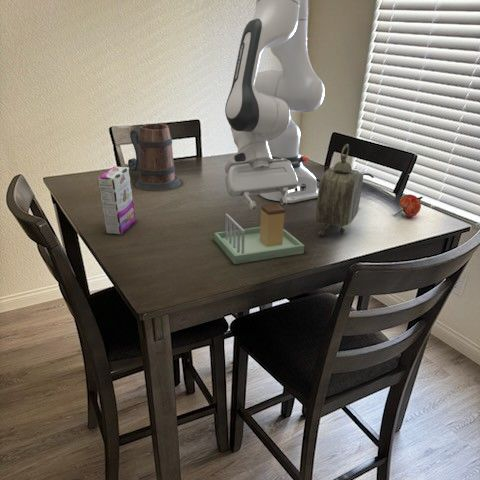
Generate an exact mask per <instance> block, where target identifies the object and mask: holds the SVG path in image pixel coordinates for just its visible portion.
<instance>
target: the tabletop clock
mask: <svg viewBox="0 0 480 480" xmlns="http://www.w3.org/2000/svg"><path fill="white" fill-rule="evenodd" d="M346 149H347V150H346ZM345 150H346V153H345V154H344V152H345ZM349 152H350V144H348V143H346V144H344V145H343V147H342V149H341V153H340V161H337V162H336V163H335V164H334V165H333V166H331V167H330V168H328V169H327V170H325V172H323V174H322V176H321V178H320V180H321V181H320V182H319V187H318V188H319V192H318V198H317V200H316V209H315V210H316V211H315V222H316V223H319V224H324V226H323V229H322V230H320V231H319V232H318V236H319V237H324V236H325V231H326V230H327V228H328V227H329V226H335V227H340V229H339V233H340V234H344V233H345V232H346V230H345V228H344V227H345V226H348V225H350V224H351V223H352V222H353V221H354V219H355V218H356V217H357V214H358V212H359V207H360V201H361V195H362V189H363V184H364V183H363V182H364V175H362V174H361V173H360V172H359V171H357V170H358V169H357V170H352V169H353V168H352V164H351V163H350V162H348V161H347V158H348V156H349Z"/></svg>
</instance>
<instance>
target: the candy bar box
mask: <svg viewBox="0 0 480 480" xmlns="http://www.w3.org/2000/svg"><path fill="white" fill-rule="evenodd" d="M97 183H98V190H99V196H100V202H101V208H102V209H101V210H102V214H103V216H102V217H103V221H104V227H105V233H106V234H108V235H123V234H124V233H125V232H126V231H127V230H128V229H129V228H130V227H131V226H132V225H133V224H134V223H135V222H136V215H135V207H134V198H133V197H134V196H133V191H132V182H131V173H130V168H129V166H117V165H116V166H112V167H111V168H109V169H108V170H106V171H105V172H104V173H102V174H100V175H99V176H97Z"/></svg>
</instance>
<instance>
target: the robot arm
mask: <svg viewBox="0 0 480 480" xmlns="http://www.w3.org/2000/svg"><path fill="white" fill-rule="evenodd" d="M308 23H309V0H256V1H255V11H254V15H253V18H252V19H251V20H249V22H247V24H246V25H245V27H244V29H243V32H242V35H241V38H240V44H239V48H238V54H237V58H236V64H235V68H234V73H233V79H232V83H231V87H230V91H229V94H228V97H227V99H226V102H225V107H224V113H225V117H226V120H227V122H228V124H229V126H230V132H231V136H232V139H233V142H234V144H235V146H236V148H237V153H235V154H233V155H231V156H230V157H229V159H228V160H227V162H226V163H225V168H224V172H225V174H226V175H225V178H224V179H225V180H224V181H225V187H226V192H227V194H228V195H229V197H231V198H235V197H241V198H242V201H244V202H245V204H247V205H248V209H249V210H250V211H251V210H256V208H257V204H256V200H252V199H251V197H250V196H252V195H259V196H260V197H262V198H263V199H266V200H270V201H276V202H279V203H280V206H287V205H288V204H294V203H299V202H303V201H308V200H313V199H318V192H319V187H318V182H319V183H320V181H321V179H319V178H318V176H315V175H314V173H312V172H311V171H310V170H309V169H308V168H307V167H305V166H304V164H306V163H308V162H309V157H308V156H307V155H302V154H300V143H301V130H300V128H299V126H298V125H297V124H296V123H295V122H294V121H293V119H292V117H291V112H295V113H310V112H311V113H312V112H315V111H317V110H318V109H319V108H320V106H321V105H322V103H323V101H324V99H325V85H324V83H323V81H322V79H321V78H320V77H319V76H318V75H317V73H316V72H315V70H314V69H313V66H312V63H311V60H310V56H309V51H308V27H309V26H308ZM267 48H269V49H270V52H271V53H272V55H274V56H275V57H276V59H278V61H279V63H280V65H281V68H282V69H281V70H277V69H267V70H263V71H259V72H258V69H259V64H260V59H261V56H262V54H263V52H264V50H265V49H267ZM363 176H369V177H371V178H372V179H374V178H375V176H374V175H373V174H371V173H368V172H363Z"/></svg>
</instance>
